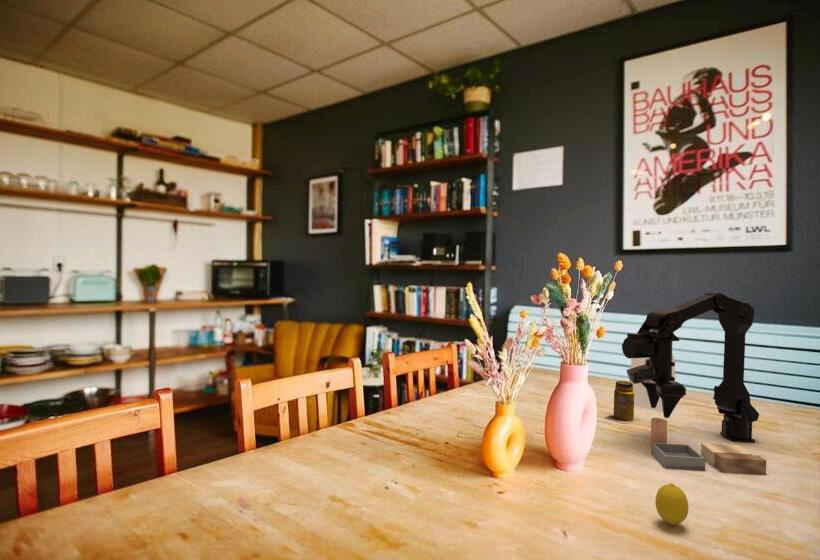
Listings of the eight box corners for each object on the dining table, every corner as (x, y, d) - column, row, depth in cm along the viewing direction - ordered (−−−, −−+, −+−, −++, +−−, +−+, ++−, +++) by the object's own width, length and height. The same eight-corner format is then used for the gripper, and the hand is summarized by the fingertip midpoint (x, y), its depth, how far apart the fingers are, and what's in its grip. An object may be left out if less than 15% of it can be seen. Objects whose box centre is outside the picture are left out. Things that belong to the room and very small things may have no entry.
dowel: (663, 442, 134) (663, 418, 134) (669, 448, 131) (669, 422, 130) (648, 441, 135) (648, 417, 135) (653, 447, 131) (654, 422, 131)
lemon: (649, 518, 93) (649, 477, 93) (675, 517, 94) (676, 477, 94) (666, 533, 88) (667, 490, 88) (694, 532, 88) (695, 490, 88)
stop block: (758, 469, 117) (758, 455, 117) (766, 474, 114) (766, 460, 114) (714, 467, 118) (715, 453, 118) (721, 472, 115) (721, 457, 115)
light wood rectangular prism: (738, 460, 123) (738, 445, 123) (751, 470, 117) (752, 454, 117) (700, 458, 124) (701, 443, 124) (712, 468, 118) (712, 452, 118)
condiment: (639, 419, 155) (640, 383, 155) (624, 424, 151) (624, 386, 150) (619, 414, 161) (619, 378, 161) (603, 418, 157) (604, 382, 156)
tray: (688, 456, 125) (688, 444, 125) (705, 470, 116) (705, 458, 116) (651, 454, 126) (651, 442, 126) (665, 468, 117) (665, 456, 117)
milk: (661, 412, 164) (662, 337, 163) (628, 404, 172) (629, 333, 172) (676, 406, 171) (677, 334, 170) (644, 399, 180) (645, 330, 179)
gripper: (619, 350, 143) (619, 402, 143) (641, 362, 124) (641, 422, 124) (659, 351, 141) (658, 403, 141) (687, 364, 123) (686, 424, 123)
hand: (659, 412), depth 133 cm, fingers open, 9 cm apart
